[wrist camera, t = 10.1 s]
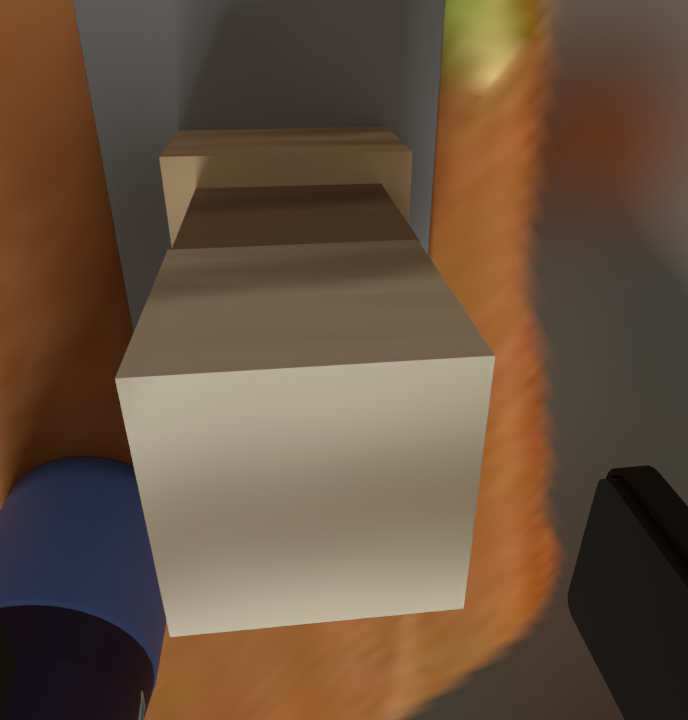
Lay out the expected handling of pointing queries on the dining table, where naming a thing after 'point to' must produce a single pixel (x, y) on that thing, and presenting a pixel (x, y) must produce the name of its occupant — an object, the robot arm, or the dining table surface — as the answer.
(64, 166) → the dining table surface
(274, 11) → the slate board
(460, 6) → the dining table surface
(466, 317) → the birch cube
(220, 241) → the walnut cube
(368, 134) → the base block
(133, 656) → the water bottle
